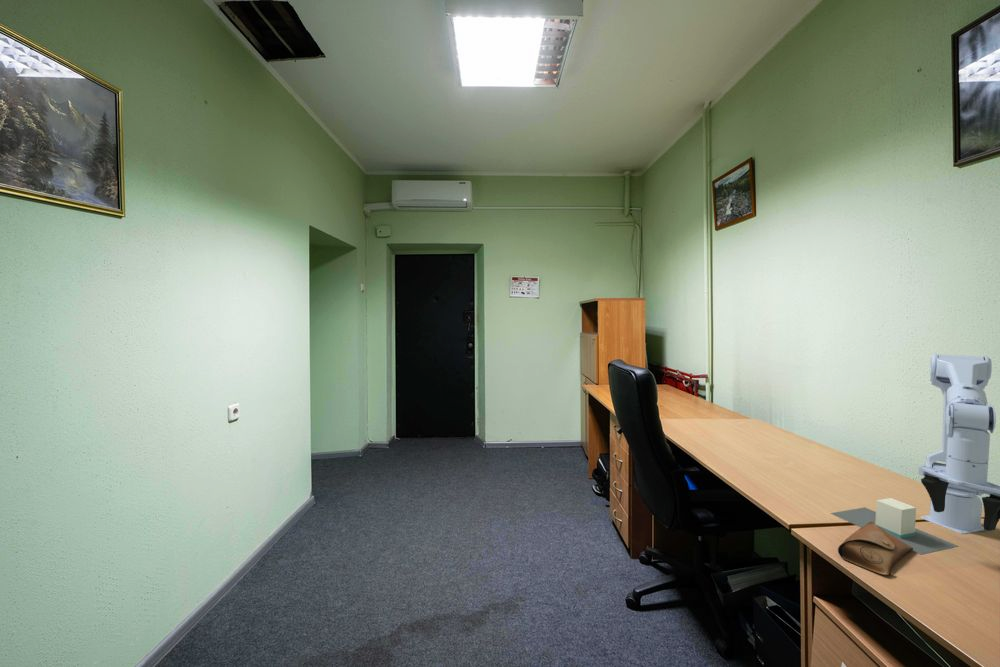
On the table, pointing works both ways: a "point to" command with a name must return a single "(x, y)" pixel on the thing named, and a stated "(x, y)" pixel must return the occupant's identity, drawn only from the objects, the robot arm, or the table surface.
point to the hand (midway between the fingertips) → (963, 520)
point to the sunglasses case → (873, 549)
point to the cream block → (896, 517)
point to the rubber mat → (919, 542)
